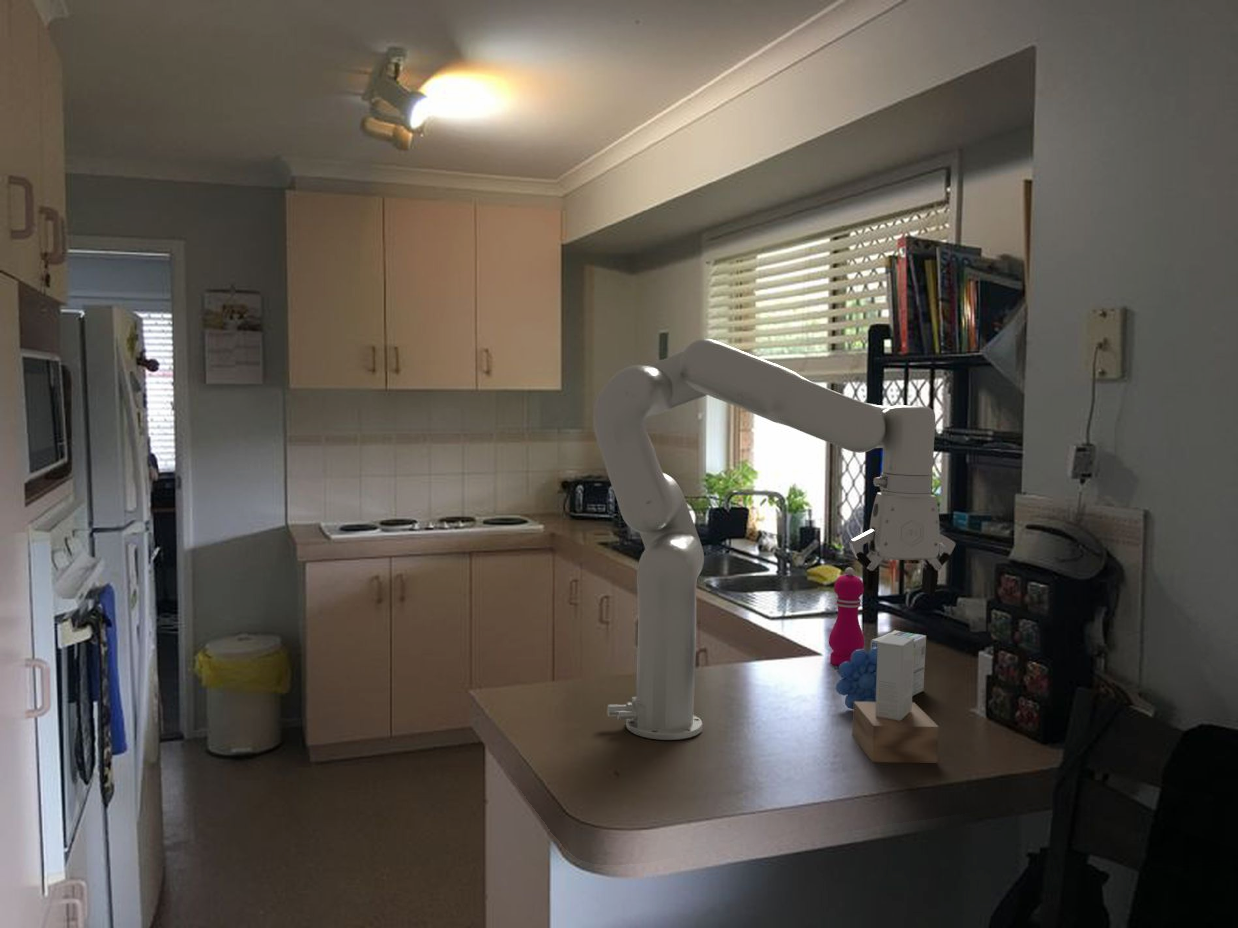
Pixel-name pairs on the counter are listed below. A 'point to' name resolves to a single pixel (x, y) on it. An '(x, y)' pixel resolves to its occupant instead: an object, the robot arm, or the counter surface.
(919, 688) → the light bulb box
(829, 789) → the counter surface
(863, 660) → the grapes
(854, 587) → the pepper mill
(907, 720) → the wooden block
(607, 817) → the counter surface
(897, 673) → the skincare box
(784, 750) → the counter surface
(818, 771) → the counter surface
